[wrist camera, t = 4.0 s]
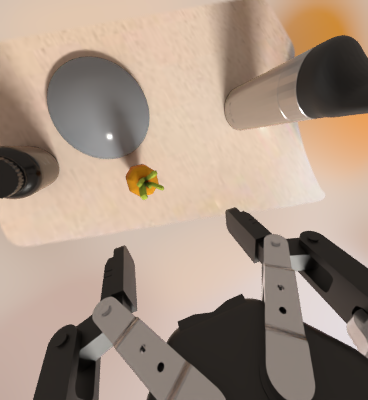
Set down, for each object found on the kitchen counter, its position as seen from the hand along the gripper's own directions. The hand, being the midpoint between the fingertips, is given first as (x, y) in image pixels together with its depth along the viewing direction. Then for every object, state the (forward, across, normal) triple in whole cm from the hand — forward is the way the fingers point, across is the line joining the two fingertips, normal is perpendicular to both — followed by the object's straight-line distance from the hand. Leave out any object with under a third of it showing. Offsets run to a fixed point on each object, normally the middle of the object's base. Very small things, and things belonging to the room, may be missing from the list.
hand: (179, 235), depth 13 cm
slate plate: (+27, +5, -8) cm, 29 cm away
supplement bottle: (+25, +19, -3) cm, 31 cm away
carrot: (+26, +3, +3) cm, 26 cm away
